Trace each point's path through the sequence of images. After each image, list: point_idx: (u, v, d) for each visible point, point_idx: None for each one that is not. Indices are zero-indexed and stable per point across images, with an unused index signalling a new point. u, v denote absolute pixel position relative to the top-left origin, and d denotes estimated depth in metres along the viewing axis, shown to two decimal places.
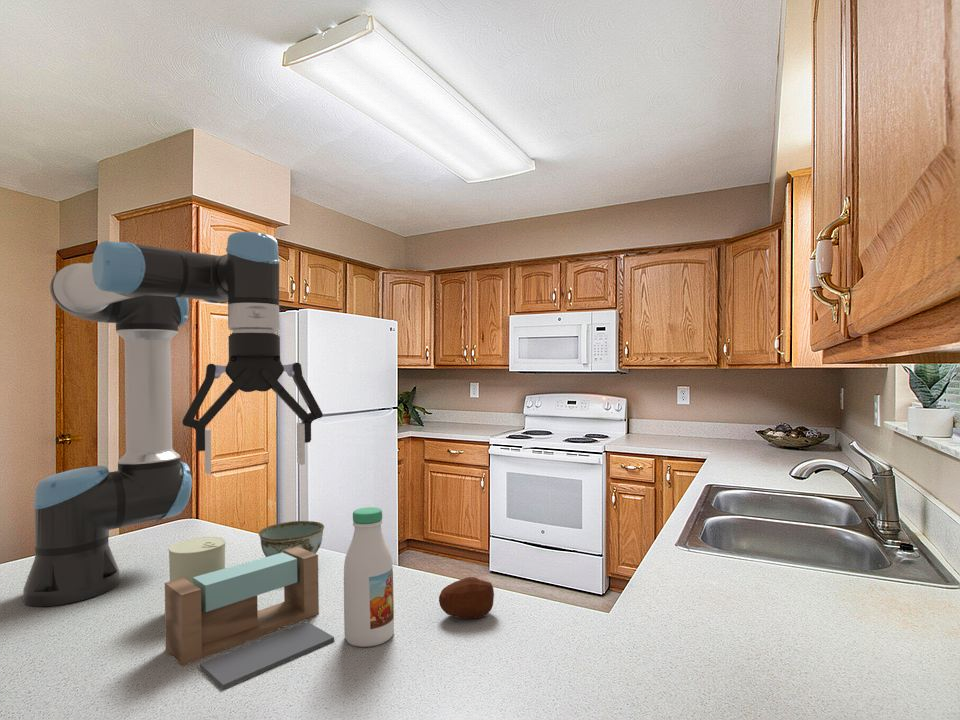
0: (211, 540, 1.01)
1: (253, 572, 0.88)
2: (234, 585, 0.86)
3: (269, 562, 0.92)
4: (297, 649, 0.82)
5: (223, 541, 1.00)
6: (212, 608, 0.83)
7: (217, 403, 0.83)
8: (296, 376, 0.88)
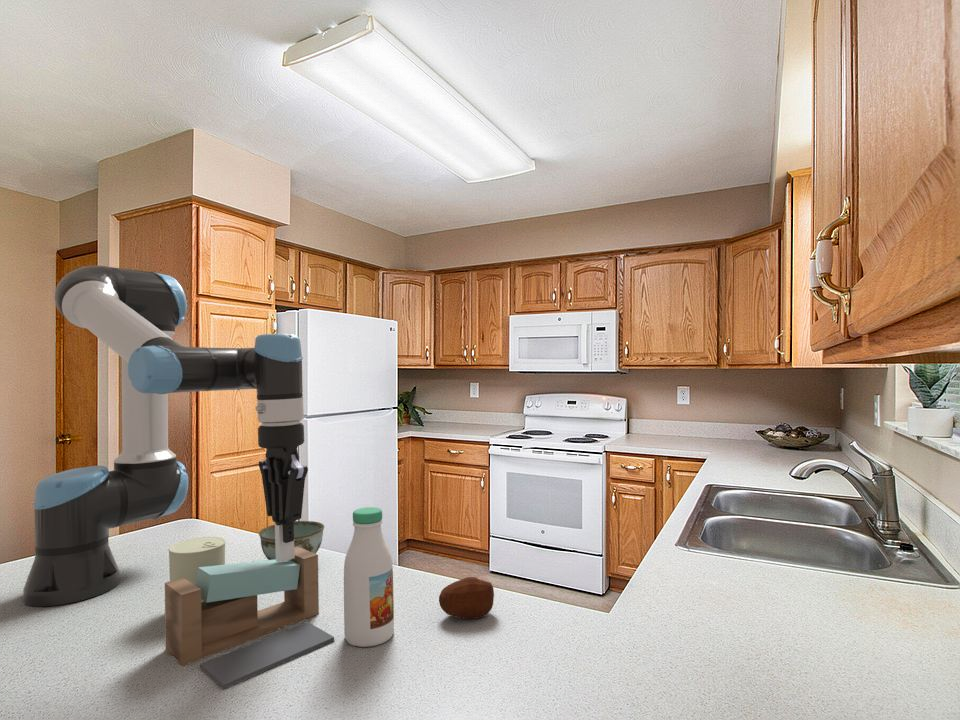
0: (211, 540, 1.01)
1: (257, 570, 0.89)
2: (237, 580, 0.86)
3: (272, 564, 0.93)
4: (297, 649, 0.82)
5: (223, 541, 1.00)
6: (213, 600, 0.84)
7: (272, 495, 0.95)
8: (289, 477, 0.91)
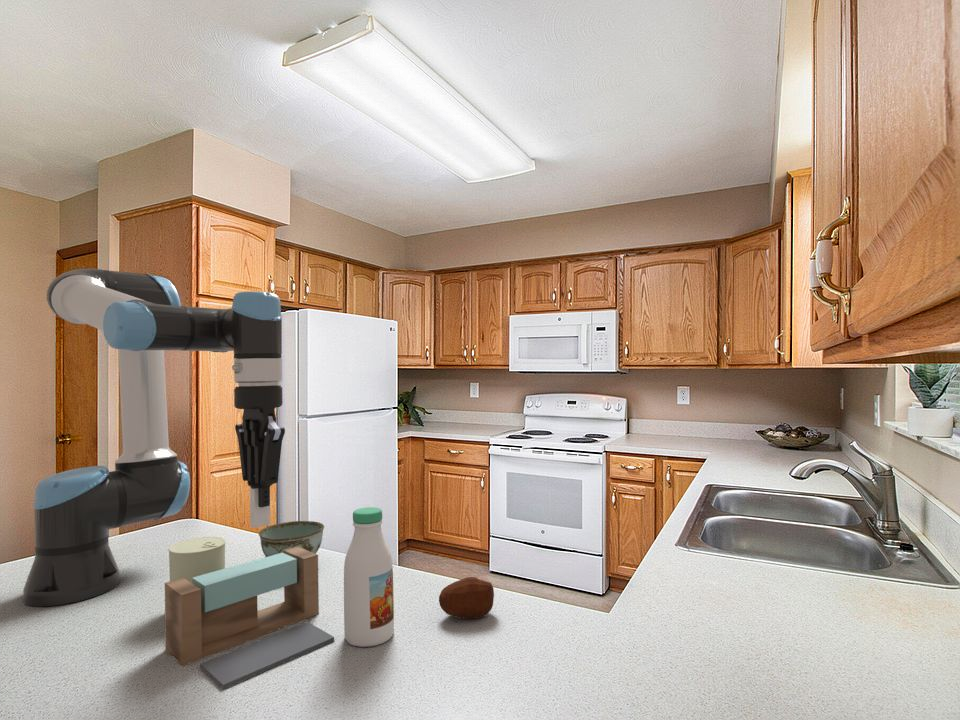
0: (211, 540, 1.01)
1: (252, 572, 0.88)
2: (233, 585, 0.86)
3: (268, 562, 0.92)
4: (297, 649, 0.82)
5: (223, 541, 1.00)
6: (211, 608, 0.83)
7: (247, 458, 0.92)
8: (265, 438, 0.88)
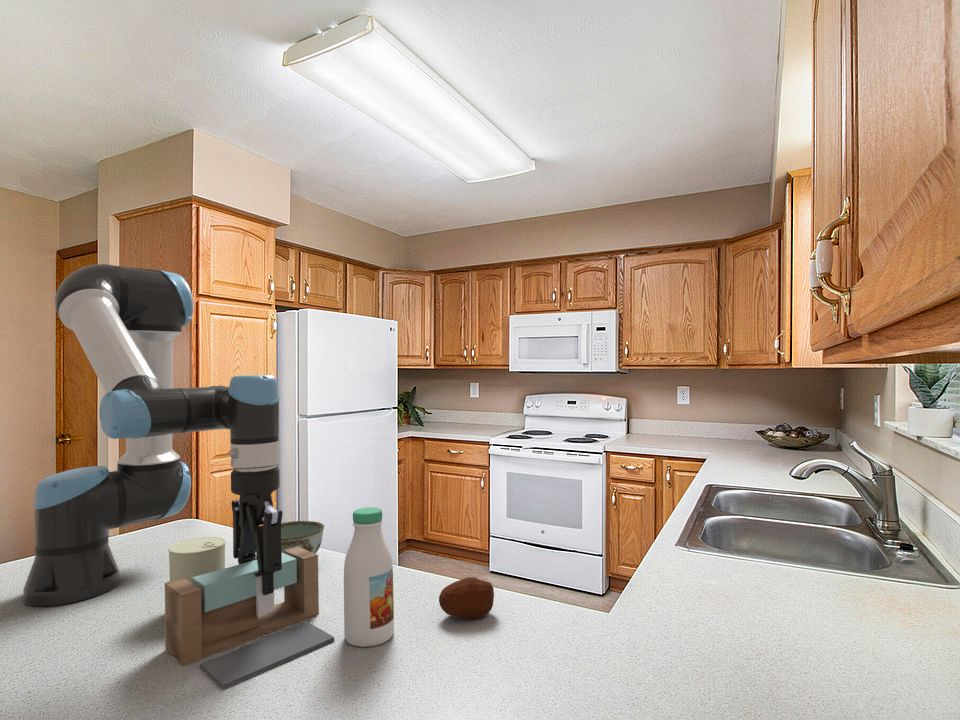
0: (211, 540, 1.01)
1: (252, 572, 0.88)
2: (233, 585, 0.86)
3: None
4: (297, 649, 0.82)
5: (223, 541, 1.00)
6: (211, 608, 0.83)
7: (240, 539, 0.92)
8: (263, 524, 0.87)
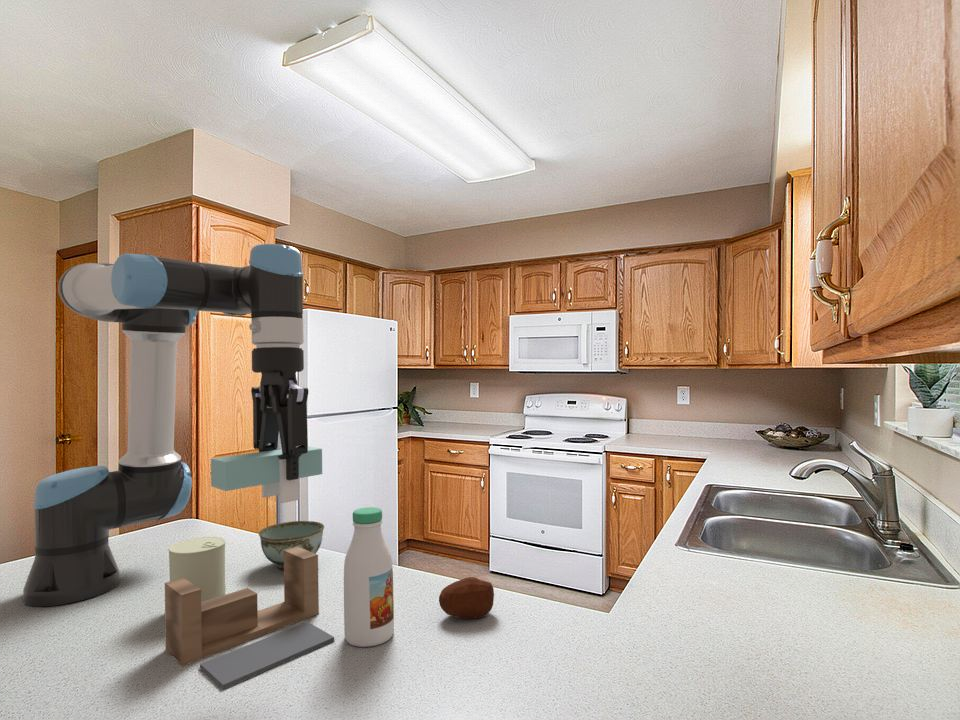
0: (211, 540, 1.01)
1: (275, 456, 0.81)
2: (256, 466, 0.79)
3: None
4: (297, 649, 0.82)
5: (223, 541, 1.00)
6: (232, 488, 0.76)
7: (262, 425, 0.85)
8: (288, 401, 0.80)
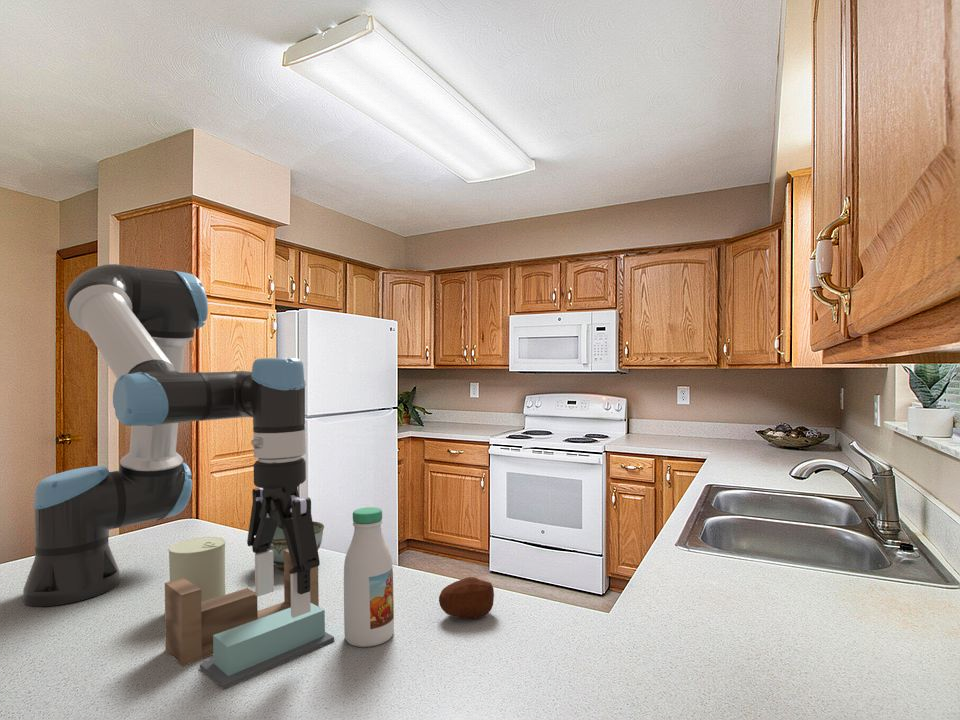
0: (211, 540, 1.01)
1: (278, 628, 0.81)
2: (258, 644, 0.78)
3: None
4: (297, 649, 0.82)
5: (223, 541, 1.00)
6: (235, 671, 0.76)
7: (258, 529, 0.86)
8: (292, 515, 0.79)
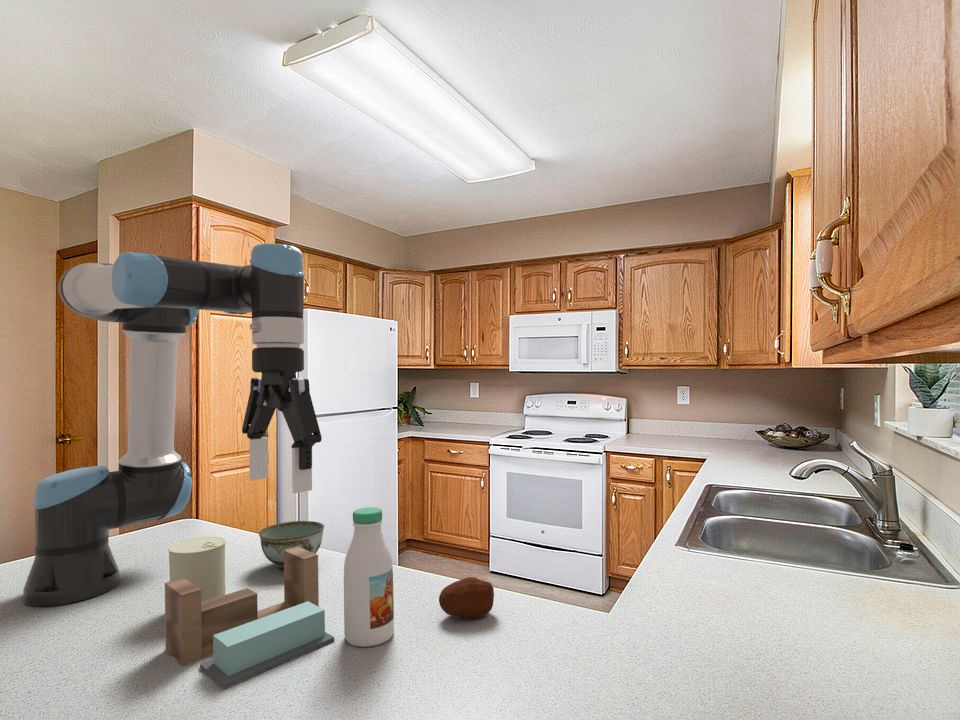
0: (211, 540, 1.01)
1: (278, 628, 0.81)
2: (258, 644, 0.78)
3: (294, 615, 0.85)
4: (297, 649, 0.82)
5: (223, 541, 1.00)
6: (235, 671, 0.76)
7: (254, 415, 0.87)
8: (291, 394, 0.79)
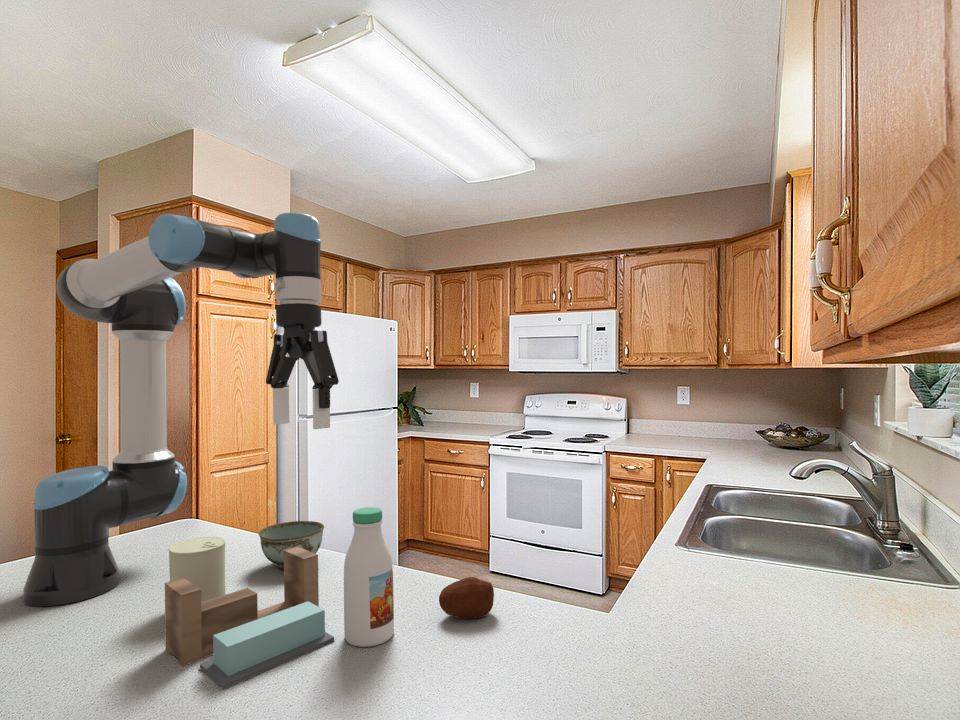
0: (211, 540, 1.01)
1: (278, 628, 0.81)
2: (258, 644, 0.78)
3: (294, 615, 0.85)
4: (297, 649, 0.82)
5: (223, 541, 1.00)
6: (235, 671, 0.76)
7: (277, 366, 0.98)
8: (311, 342, 0.91)
